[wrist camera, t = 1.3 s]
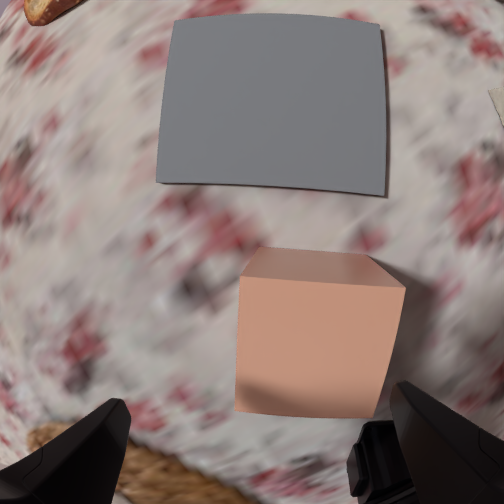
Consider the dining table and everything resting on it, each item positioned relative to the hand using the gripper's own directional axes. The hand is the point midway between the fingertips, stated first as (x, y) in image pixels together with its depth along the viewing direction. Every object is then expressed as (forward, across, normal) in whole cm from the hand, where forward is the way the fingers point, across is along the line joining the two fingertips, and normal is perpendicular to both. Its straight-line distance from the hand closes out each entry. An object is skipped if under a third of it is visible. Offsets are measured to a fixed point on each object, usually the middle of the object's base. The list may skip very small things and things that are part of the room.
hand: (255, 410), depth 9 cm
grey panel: (+12, -2, -11) cm, 17 cm away
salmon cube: (+10, -3, +2) cm, 11 cm away
